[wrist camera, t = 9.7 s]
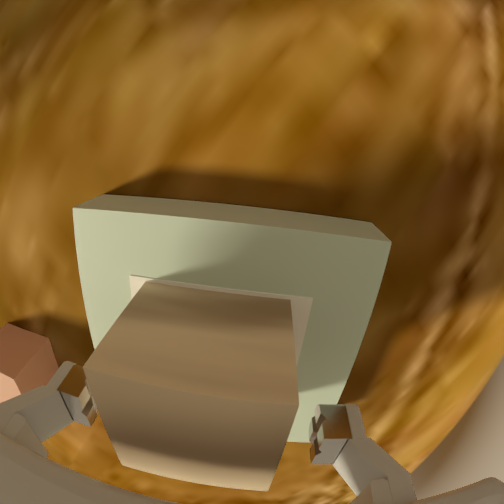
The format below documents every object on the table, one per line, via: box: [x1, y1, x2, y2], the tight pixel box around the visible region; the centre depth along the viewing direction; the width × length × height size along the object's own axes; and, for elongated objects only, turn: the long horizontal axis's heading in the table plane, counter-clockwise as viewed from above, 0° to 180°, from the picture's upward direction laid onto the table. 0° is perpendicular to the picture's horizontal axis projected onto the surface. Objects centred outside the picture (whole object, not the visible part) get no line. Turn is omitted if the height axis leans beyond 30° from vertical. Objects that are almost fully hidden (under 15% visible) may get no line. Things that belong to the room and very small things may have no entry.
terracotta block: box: [0, 323, 59, 403], centre depth 15 cm, size 4×4×4 cm
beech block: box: [83, 282, 299, 491], centre depth 10 cm, size 6×6×5 cm
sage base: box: [73, 194, 392, 442], centre depth 14 cm, size 12×12×3 cm
